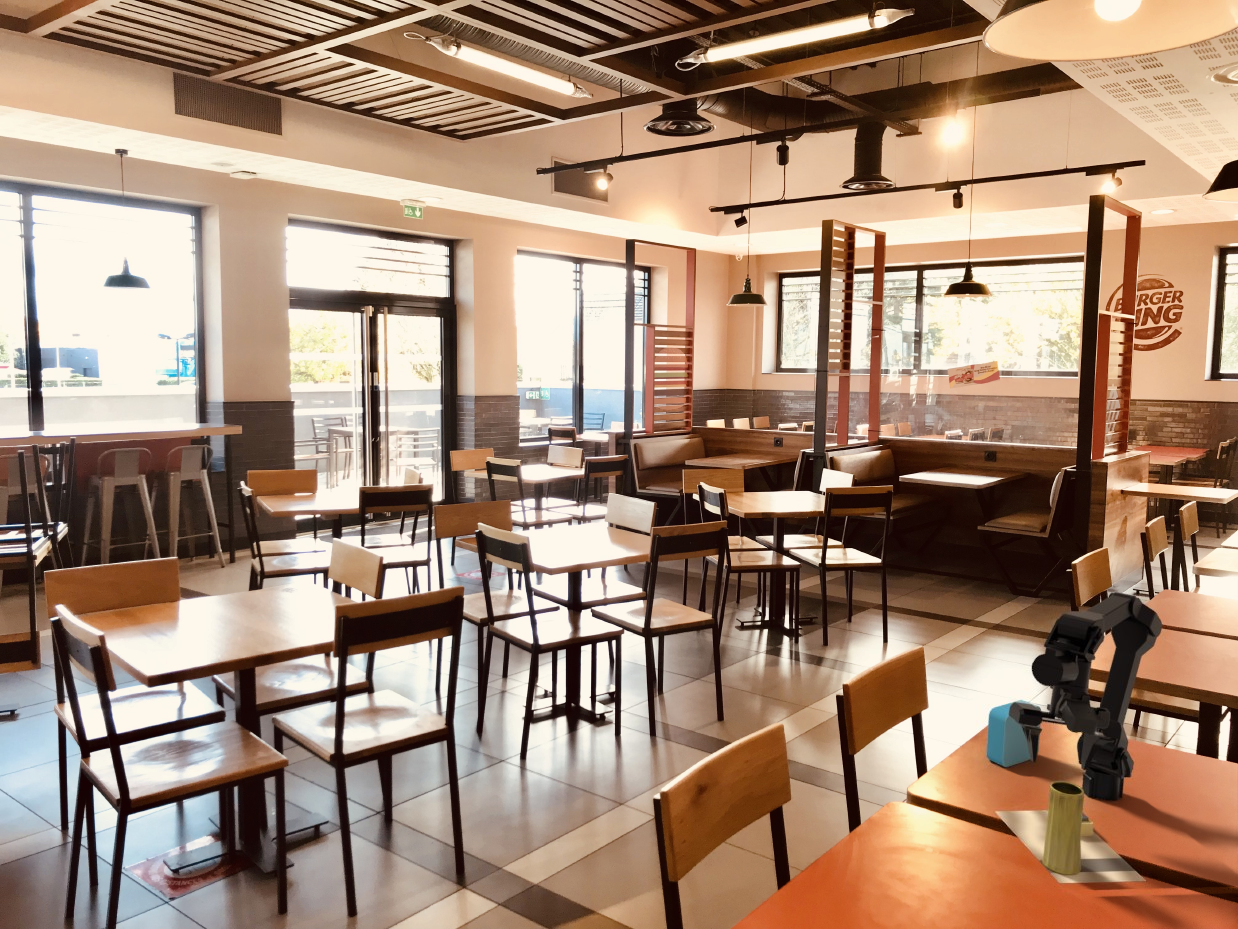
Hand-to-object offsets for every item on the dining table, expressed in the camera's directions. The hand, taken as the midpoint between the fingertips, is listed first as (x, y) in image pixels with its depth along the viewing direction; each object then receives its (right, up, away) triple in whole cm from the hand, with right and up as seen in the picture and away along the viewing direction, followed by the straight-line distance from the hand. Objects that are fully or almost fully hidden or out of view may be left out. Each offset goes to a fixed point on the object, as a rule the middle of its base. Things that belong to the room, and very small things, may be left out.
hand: (1058, 765), depth 172 cm
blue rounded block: (+5, -9, +32) cm, 33 cm away
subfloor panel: (-1, -13, -5) cm, 14 cm away
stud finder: (+3, -12, +2) cm, 12 cm away
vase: (-5, -14, -12) cm, 19 cm away
